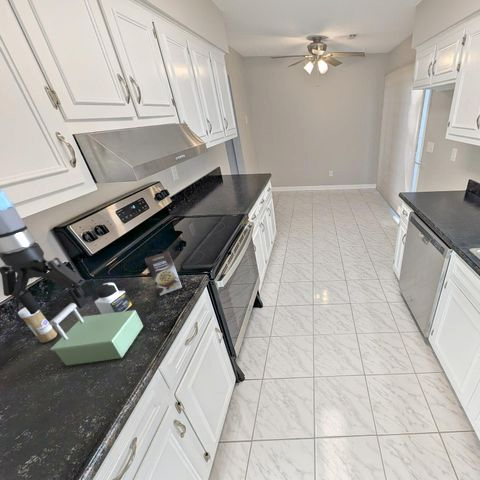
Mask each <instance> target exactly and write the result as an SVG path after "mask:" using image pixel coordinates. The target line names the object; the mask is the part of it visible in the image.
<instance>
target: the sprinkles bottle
mask: <svg viewBox="0 0 480 480" xmlns="http://www.w3.org/2000/svg"><path fill="white" fill-rule="evenodd" d="M17 314H18V316H19V317H20V318H21V319H22V320H23V321H24V322H25V323H26V325H27V327H28V328H29V329H30V330H31V331H32V333H33V334H34V336H36V337H37V339H38V340H39V343H47V342H50V341H51V340H53V339H54V338H56V337H57V336H58V331H56V330H55V329H54V328H53V326H51V325H50V324H49V322H50V321H49V320H48V319H47V318H46V317H45V315H44V314H43V312H42V311H41V309H40V310H38V311H37V312H36V313H35V314H30V313H29V311H28V310H27V309H26V307H25V306H24V307H23V308H21V309H20V310H19V311H18V312H17Z"/></svg>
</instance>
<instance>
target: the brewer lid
mask: <svg viewBox="0 0 480 480" xmlns="http://www.w3.org/2000/svg"><path fill="white" fill-rule="evenodd" d="M77 307H78V306H77V304H76V303H75V302H70V304H68V305H67V306H65V308H63V309H62V310H61V311H60V312H59V313H57V315H55V316H54V317H53V318H52V319H51V320H49V321H48V322H49V324H50V325H51V326H52V327H54V328H55V329H56V332H57V333H58V334H59V335H60V336H61V337H60V338H59V339H58V341H57V342H56V343H54V345H53V346H51V347H50V351H52V352H55V350H61V349H69V348H76V347H84V346H91V345H99V344H107V343H113V341H114V340H115V339H116V338H117V336H118V335H119V334H120V332H121V331H122V330H123V328H124V327H125V326H126V324H127V323H128V322H129V320H130V319H131V318H132V316H133V315H134V314H135V313H137V311H136V309H131V310H125V311H124V312H116V313H108V314H101V313H100V314H92V315H85V316H81V314H80V313H79V311H78V310H77ZM71 313H73V314H74V315H75V317H76V318H77V320H78V321H76V322H75V324H74V325H73V326H72V327H71V328H70V329H69V330H68V331H67V332H64V330H63V328H62V327H61V326H60V323H61V322H62V321H63V320H65V318H67V317H68V316H69V315H70V314H71Z"/></svg>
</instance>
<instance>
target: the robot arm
mask: <svg viewBox="0 0 480 480" xmlns="http://www.w3.org/2000/svg"><path fill="white" fill-rule="evenodd" d="M44 256H45V252H44V250H43V249H42V247H41V246H40V244H39V243H38V242H36V238H35V237H34V235H33V233H32V232H31V231H30V229H29V227H28V226H27V225H26V223H25V222H24V221H23V219H22V217H21V215H20V214H19V213H18V210H17V209H16V207H15V205H14V203H13V202H12V201H11V200H10V199H9V197H8V196H7V194H6V193H5V192H4V190H1V189H0V260H1V261H2V262H3V264H4V265H2V266H0V275H1V282H2V289H3V295H4V296H5V297H10V296H12V297H13V298H16V299H17V300H18V301H19V303H20V305H22V306H24V308H25V307H26V309H27V310H28V311H29V313H30V314H35V313H36V312H37V311H38V310H40V311H41V309H42V306H41V305H40V304H39V302H38V301H37V300H36V299H35V297H34V296H33V294H32V293H31V291H29V290H27V286H28V283H29V280H30V279H34V278H35V279H36V278H37V279H38V278H42V279H45V280H46V279H47V280H49V281H52V282H54V283H56V284H58V285H60V286H62V287H65V288H66V289H68V290H67V292H68V294H69V295H70V297H71V298H72V300H73V301H74V304H76V305H77V307H78V309H82V308H84V307H85V306H86V305H87V304H89V303H88V302H89V301H88V299H87V298H86V297H85V292H84V290H83V289H82V287H81V286H83V285H84V284H85V283H86V281H87V280H85V278H83V277H82V276H80V275H78V274H77V273H76V272H74V271H73V270H72V269H70V268H69V267H68V266H66V265H65V264H64V263H63V262H62V261H61V260H60V258H58V257H54V258H52V259H51V260H47V259H45V257H44Z"/></svg>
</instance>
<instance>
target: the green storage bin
mask: <svg viewBox="0 0 480 480" xmlns="http://www.w3.org/2000/svg"><path fill="white" fill-rule="evenodd" d="M143 328H144V324H143V323H142V319H140V316H139V314H138V312H136V313H135V314H134V315H133V316H132V318H131V319H130V320H129V322H128V323H127V324H126V326H125V327H124V328H123V330H122V331H121V332H120V334H119V335H118V336H117V338H116V339H115V340H114V341H113V343H107V344H99V345H91V346H84V347H76V348H69V349H61V350H54V352H55V353H56V354H57V356H58V357H59V358H60V360H61V361H62V362H63V363H64V365H65V366H73V365H74V366H75V365H81V364H88V363H94V362H101V361H102V362H103V361H110V360H117V359H118V360H119V359H122V358H123V357H124V356H125V354H126V353H127V352H128V349H129V348H130V347H131V345H132V344H133V342H134V341H135V340H136V338H137V337H138V335H139V334H140V332H141V331H142V329H143Z"/></svg>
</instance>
